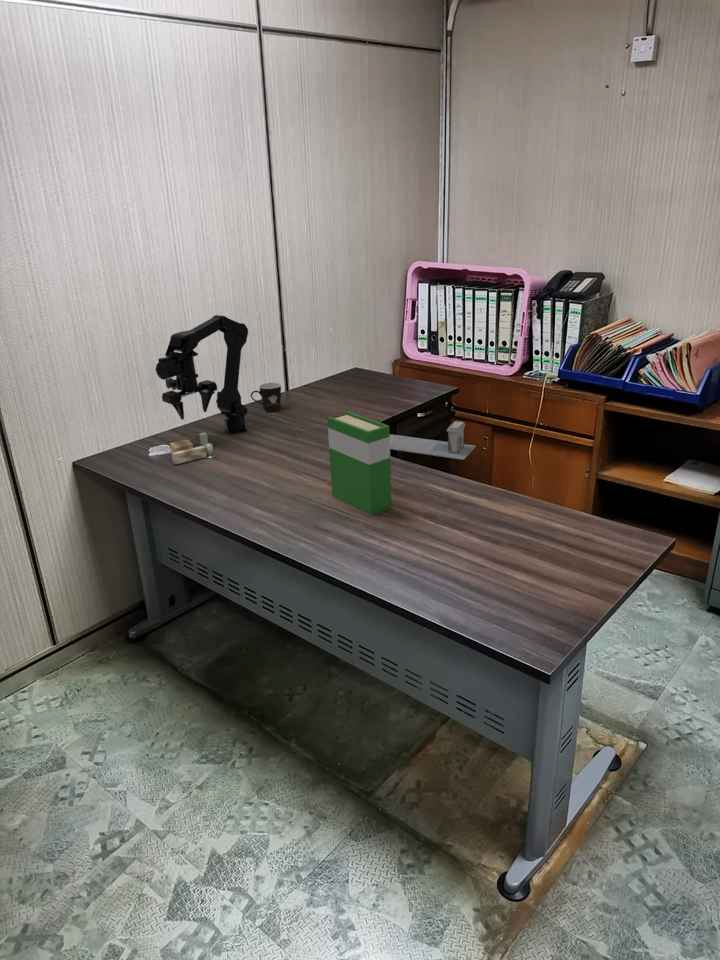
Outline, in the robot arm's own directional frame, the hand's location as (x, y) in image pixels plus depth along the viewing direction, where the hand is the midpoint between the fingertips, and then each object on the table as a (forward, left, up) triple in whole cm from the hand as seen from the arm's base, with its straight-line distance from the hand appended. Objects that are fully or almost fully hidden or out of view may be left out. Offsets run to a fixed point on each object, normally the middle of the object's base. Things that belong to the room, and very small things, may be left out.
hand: (193, 415), depth 239 cm
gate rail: (+7, +11, -11) cm, 17 cm away
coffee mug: (-37, -23, -12) cm, 45 cm away
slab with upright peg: (-62, +47, -12) cm, 79 cm away
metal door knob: (0, +11, -12) cm, 16 cm away
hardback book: (-23, +71, -12) cm, 76 cm away
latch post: (-3, -1, -12) cm, 12 cm away
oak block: (+7, +3, -12) cm, 14 cm away
